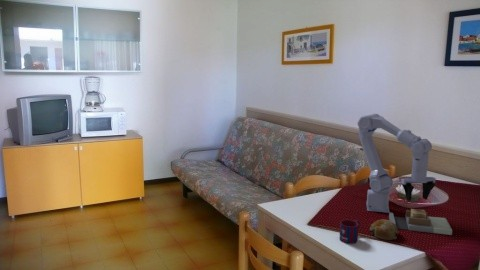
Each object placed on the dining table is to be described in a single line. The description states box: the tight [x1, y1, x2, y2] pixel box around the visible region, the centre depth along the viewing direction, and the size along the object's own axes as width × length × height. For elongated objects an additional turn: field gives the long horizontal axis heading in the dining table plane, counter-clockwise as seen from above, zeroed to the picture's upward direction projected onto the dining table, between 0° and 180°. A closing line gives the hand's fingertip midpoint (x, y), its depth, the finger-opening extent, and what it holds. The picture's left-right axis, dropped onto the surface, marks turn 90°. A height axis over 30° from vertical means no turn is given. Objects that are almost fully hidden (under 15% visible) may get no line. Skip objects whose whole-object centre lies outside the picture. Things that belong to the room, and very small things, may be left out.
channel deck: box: [388, 209, 453, 236], centre depth 154 cm, size 22×12×4 cm, turn 73°
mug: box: [339, 219, 360, 245], centre depth 142 cm, size 7×10×7 cm
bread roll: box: [368, 218, 399, 241], centre depth 145 cm, size 10×10×8 cm
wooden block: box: [410, 208, 426, 219], centre depth 153 cm, size 5×5×4 cm
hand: (416, 199), depth 157 cm, fingers open, 7 cm apart
